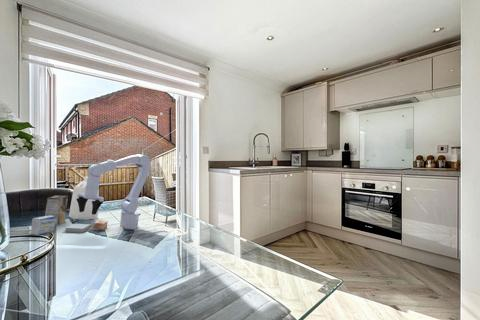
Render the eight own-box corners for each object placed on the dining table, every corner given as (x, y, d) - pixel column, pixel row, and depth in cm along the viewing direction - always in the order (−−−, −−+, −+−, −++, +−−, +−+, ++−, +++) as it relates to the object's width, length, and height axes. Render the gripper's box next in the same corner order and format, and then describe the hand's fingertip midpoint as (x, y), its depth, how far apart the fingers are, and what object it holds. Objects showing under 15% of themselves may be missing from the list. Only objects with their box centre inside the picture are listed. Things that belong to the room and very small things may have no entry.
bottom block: (92, 231, 126) (93, 227, 126) (83, 237, 116) (83, 233, 116) (72, 230, 125) (73, 226, 125) (61, 236, 115) (61, 232, 115)
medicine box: (37, 237, 108) (39, 219, 108) (29, 236, 109) (32, 217, 109) (54, 233, 116) (56, 216, 116) (46, 231, 117) (48, 214, 117)
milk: (97, 218, 149) (102, 178, 149) (77, 220, 139) (82, 178, 140) (88, 214, 155) (92, 176, 156) (68, 216, 146) (73, 175, 146)
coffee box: (52, 223, 130) (55, 194, 131) (65, 223, 132) (68, 195, 132) (43, 227, 122) (46, 197, 122) (57, 228, 123) (60, 198, 123)
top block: (89, 228, 125) (90, 224, 125) (82, 232, 117) (82, 228, 117) (73, 227, 124) (74, 223, 124) (65, 231, 116) (65, 227, 116)
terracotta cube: (106, 230, 129) (107, 221, 129) (102, 232, 124) (103, 223, 124) (96, 229, 128) (98, 220, 128) (92, 232, 123) (93, 222, 123)
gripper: (74, 185, 119) (69, 211, 118) (98, 189, 116) (93, 216, 116) (85, 185, 126) (80, 209, 125) (108, 189, 123) (104, 214, 123)
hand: (87, 213), depth 121 cm, fingers open, 7 cm apart
